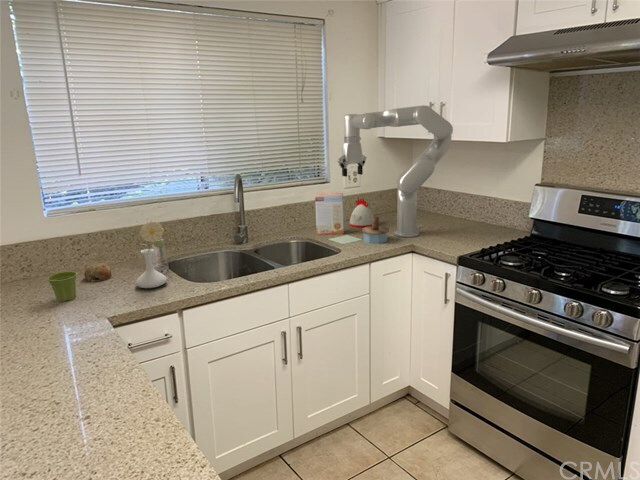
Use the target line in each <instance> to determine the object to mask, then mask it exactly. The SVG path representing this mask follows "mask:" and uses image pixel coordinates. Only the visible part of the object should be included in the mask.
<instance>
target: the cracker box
mask: <svg viewBox="0 0 640 480" xmlns="http://www.w3.org/2000/svg"><path fill="white" fill-rule="evenodd" d="M314 199H315V200H314V203H315V224H316V225H315V226H316V230H315V231H316V235H318V236H319V235H344V233H345V221H344V220H345V219H344V218H345V217H344V216H345V215H344V194H343V192H342V193H341V192H337V193H335V192H332V193H328V192H327V193H325V192H324V193H316V194H315V196H314Z"/></svg>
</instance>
